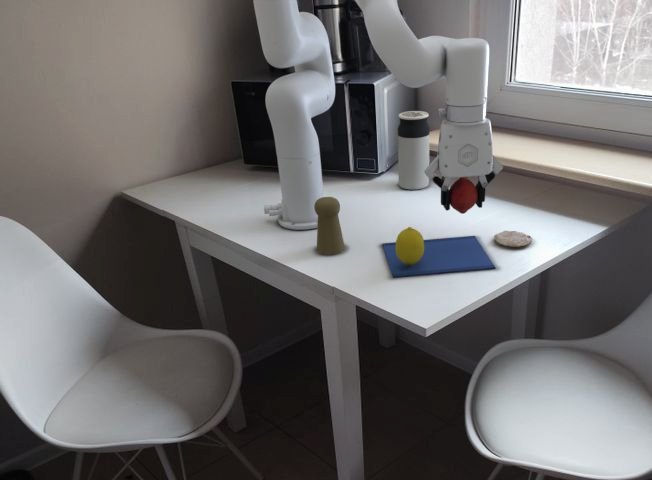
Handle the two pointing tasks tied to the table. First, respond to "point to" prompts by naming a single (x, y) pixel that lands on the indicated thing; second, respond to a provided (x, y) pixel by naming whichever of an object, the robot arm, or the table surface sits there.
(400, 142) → the travel mug
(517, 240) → the flatbread
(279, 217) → the robot arm
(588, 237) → the table surface
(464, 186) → the onion
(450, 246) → the blue rectangular board
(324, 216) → the olive pawn
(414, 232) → the lemon
